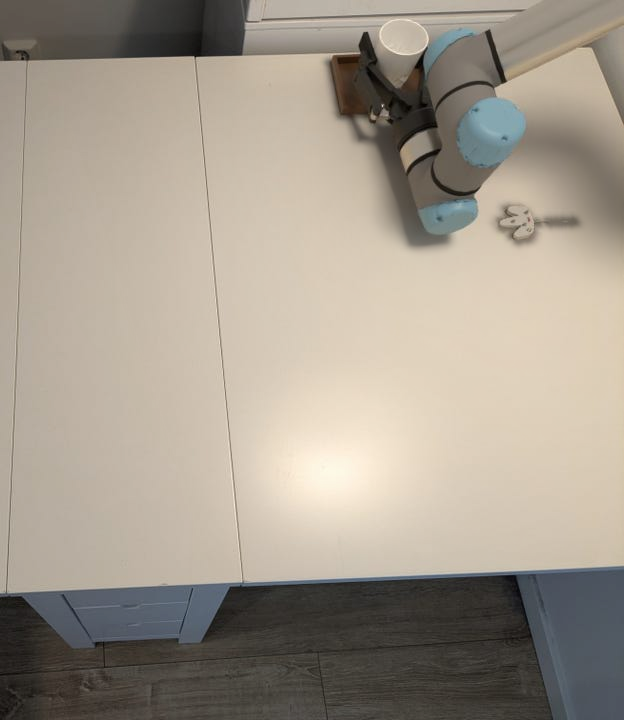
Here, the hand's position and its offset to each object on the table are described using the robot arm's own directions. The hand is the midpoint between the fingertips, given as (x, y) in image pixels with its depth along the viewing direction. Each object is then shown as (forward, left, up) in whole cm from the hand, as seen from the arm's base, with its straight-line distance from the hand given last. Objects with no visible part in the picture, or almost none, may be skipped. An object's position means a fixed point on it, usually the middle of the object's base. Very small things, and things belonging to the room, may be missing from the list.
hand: (386, 36), depth 96 cm
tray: (+1, +5, -7) cm, 8 cm away
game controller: (-11, +39, -7) cm, 41 cm away
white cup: (+1, +5, -6) cm, 8 cm away
